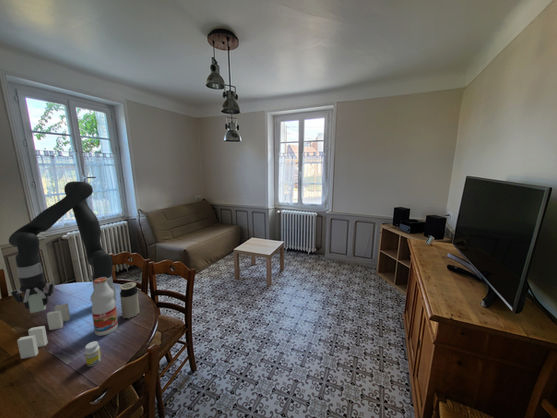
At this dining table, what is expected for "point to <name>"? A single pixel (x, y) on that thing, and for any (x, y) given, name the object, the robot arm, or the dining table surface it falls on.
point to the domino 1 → (27, 346)
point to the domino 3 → (39, 335)
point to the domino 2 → (36, 303)
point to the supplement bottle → (92, 353)
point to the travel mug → (129, 300)
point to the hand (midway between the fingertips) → (37, 306)
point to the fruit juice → (103, 308)
